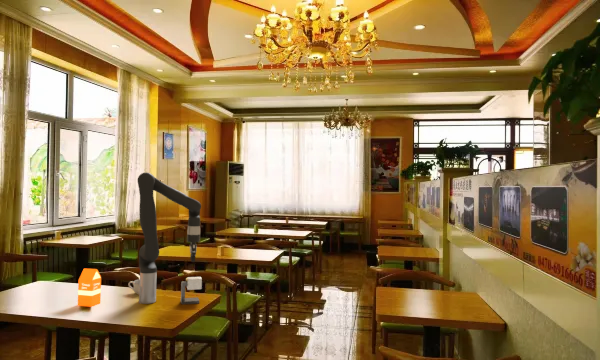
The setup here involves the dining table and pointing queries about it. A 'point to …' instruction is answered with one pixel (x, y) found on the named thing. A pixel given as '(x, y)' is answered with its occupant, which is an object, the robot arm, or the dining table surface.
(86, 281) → the orange juice
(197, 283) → the white rounded block
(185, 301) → the stand
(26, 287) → the dining table surface
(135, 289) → the teacup
